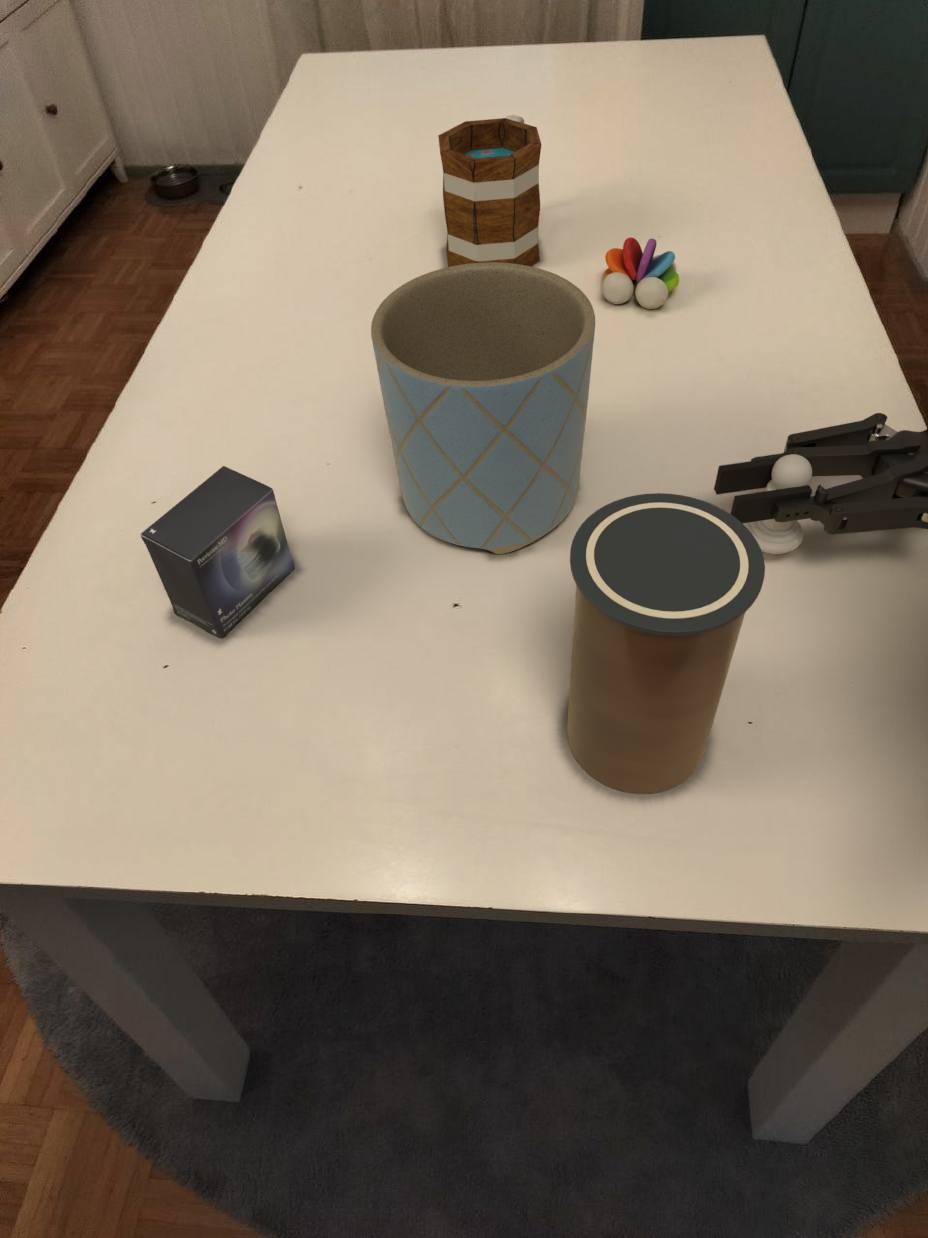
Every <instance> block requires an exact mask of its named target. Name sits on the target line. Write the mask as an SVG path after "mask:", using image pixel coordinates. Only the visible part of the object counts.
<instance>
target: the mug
mask: <svg viewBox="0 0 928 1238" xmlns="http://www.w3.org/2000/svg"><path fill="white" fill-rule="evenodd" d="M437 137H438V145H439V146H438V147H439V154H440V161H441V165H442V201H443V209H444V211H443V212H444V218H445V224H446V260H447V267H451V266H457V265H463V264H471V263H485V262H498V263H512V264H520V265H526V266H531V267H534V266H535V265H536V264H537V263H540V261H541V257H540V247H539V223H540V215H541V193H540V160H541V153H542V141H541V137H540V135H539V130H538V127H537V126H534V125H531V124H527V123H525V119H524V118H523V117H522V116H518V115H515V114H509V115H507V116H505V117H501V118H491V119H490V118H489V119H479V120H466V121H463V122H462V123H460V124H457V125H456V126H454V127H452V128H450V129H448V130H446V131H444V132H442V133H440V134H438V135H437Z"/></svg>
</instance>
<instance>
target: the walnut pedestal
mask: <svg viewBox="0 0 928 1238" xmlns="http://www.w3.org/2000/svg"><path fill="white" fill-rule="evenodd" d="M574 598H575V600H574V613H573V630H572V643H571V644H572V646H571V659H570V660H571V661H570V677H569V691H568V694H569V695H568V706H567V707H568V709H567V723H566V724H567V727H566V735H567V737H566V738H567V742H568V746H569V748H570V751H571V753H572V755H573V757H574V759H575V761H576V762H577V763H578V764H579V766H580V767H581V769H582V770H583V771H585V773H587V774H588V775H589V776H590V777H591V778H593V779H594V780H596V781H597V782H599V783H600V784H601V785H604V786H607V787H609V788H610V789H613V790H616V791H619V792H623V793H628V794H638V795H646V794H648V795H649V794H656V793H657V794H658V793H661V792H665V791H668V790H671V789H673V788H675V787H678V786H679V785H681V784H682V783H684V782H685V781H686V780H688V779H689V778H691V776H692V775H693V774H694V773H695V771H697V769H698V767H699V766H700V765H701V762H702V760H703V758H704V755H705V751H706V748H707V745H708V741H709V738H710V735H711V731H712V729H713V728H712V727H713V725H714V721H715V718H716V715H717V714H716V713H717V710H718V708H719V703H720V701H721V697H722V694H723V690H724V686H725V683H726V680H727V677H728V676H727V675H728V673H729V670H730V666H731V663H732V660H733V656H734V652H735V649H736V646H737V642H738V639H739V635H740V632H741V629H742V625H743V622H744V619H745V616H746V612H745V613H744V614H743V615H741V616H740V617H739V618H737V619H736V620H734V621H733V622H731V623H729V624H727V625H725V626H723V627H720V628H718V629H715V630H712V631H708V632H704V633H701V634H694V635H684V636H668V635H657V634H651V633H646V632H642V631H638V630H635V629H632V628H629V627H627V626H624V625H621V624H619V623H617V622H615V621H613V620H611V619H610V618H608V617H607V616H605V615H604V614H602V613H601V612H599V611H598V610H597V609H596V608H595V607H593V606H592V605H591V604H590V603H589V602H588V601H587V600H586V598H585V597H584V596H583V595H582V593H581V592H580V590H579V589H578V587H577V585H576V584H575V596H574Z"/></svg>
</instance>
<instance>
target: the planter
mask: <svg viewBox="0 0 928 1238" xmlns="http://www.w3.org/2000/svg"><path fill="white" fill-rule="evenodd" d="M370 326H371V327H370V337H371V342H372V347H373V352H374V358H375V363H376V369H377V370H376V371H377V375H378V380H379V385H380V392H381V397H382V402H383V407H384V411H385V412H384V413H385V417H386V421H387V426H388V431H389V436H390V441H391V446H392V451H393V456H394V461H395V466H396V467H395V468H396V471H397V472H396V473H397V477H398V482H399V487H400V492H401V496H402V500H403V503H404V505H405V509H406V511H407V512H408V514H409V516H410V517H411V518H412V520H413V521H414V522H415V523H416V524H417V525H418V526H419V527H420V528H421V529H422V530H423V531H425V532H426V533H428V534H430V535H431V536H433V537H435V538H437V539H439V540H441V541H444V542H447V543H448V544H449V543H450V544H452V545H457V546H461V547H466V548H472V549H480V550H486V551H489V552H491V553H494V554H496V555H505V554H508V553H512V552H514V551H517V550H520V549H521V548H524V547H526V546H528V545H529V544H533V543H534V542H535V541H537V540H539V539H541V538H542V537H543V536H545V535H547V534H548V533H550V532H551V531H552V530H554V529H555V528H556V527H557V526H559V525H560V524H561V523H562V522H563V520H565V518H566V517H567V516H568V514H569V513H570V512H571V510H572V509H573V506H574V504H575V502H576V498H577V497H578V496H577V495H578V491H579V485H580V477H581V469H582V458H583V448H584V441H585V439H584V438H585V430H586V421H587V411H588V403H589V395H590V383H591V373H592V363H593V353H594V344H595V343H594V342H595V333H596V332H595V331H596V314H595V310H594V307H593V304H592V303H591V301H590V299H589V298H588V296H587V295H586V294H585V293H584V292H583V291H582V290H581V289H580V288H579V287H578V286H576V285H575V284H574V283H573V282H571V281H569V280H568V279H566V278H564V277H562V276H560V275H559V274H556V273H553V272H552V271H548V270H545V269H542V268H540V267H535V266H532V267H531V266H526V265H520V264H512V263H498V262H485V263H471V264H463V265H457V266H451V267H448V266H447V267H443V268H440V269H436V270H433V271H430V272H427V273H424V274H422V275H419V276H417V277H415V278H413V279H411V280H409V281H406V282H405V283H403V284H402V285H400V286H399V287H397V288H395V290H393V291H392V292H391V293H390V294H388V295H387V296H386V297H385V298H384V299H383V300H382V301H381V303H380V304H379V306H378V307H377V309H376V310H375V313H374V315H373V317H372V321H371V325H370Z"/></svg>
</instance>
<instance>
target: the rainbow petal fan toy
mask: <svg viewBox="0 0 928 1238" xmlns="http://www.w3.org/2000/svg"><path fill="white" fill-rule="evenodd" d="M623 241H624V242H623V245H622V248H619V247H614V248H610V249H609V250H608V251H607V252H606V254H605V256H604V257H605V259H604V260H605V263H606V265H607V267H608V268H606V269H605V270H604V271H603V273H602V275H601V277H602V278H601V279H602V280H601V281H602V285H601V290H602V295H603V297H604V298H605V299H606V301H608V302H609V303H611V304H615V305H621V304H624V303H626V302H628V301H629V300H630V299H631V298H632V297H633V294H634V295H635V298H636V301H637V302H638V304H639V305H640V306H641V307H643V308H644V309H647V310H648V309H649V310H652V309H653V310H654V309H658V308H660V307H661V306H662V305H664V304H665V303H666V301H667V300H668V296H669V293H671V292H672V291H674V290H675V289H676V288H678V286H679V284H680V276H679V273H677V271H678V270H677V265H676V263H675V261H676V254H675V252H673V251H671V250H667V251H665V252H662V253H661V254H658V255H655V252H656V248H657V244H658V243H657V240H656V239H655V238H649V239H648V240H647V242H646V245H645V246H644V250H642V247H641V244H640V242H639V241H638V240H637V239H636V238H635V237H632V236H631V237H627V238H626V239H625V240H623ZM636 283H637V284H636ZM635 285H636V287H635Z"/></svg>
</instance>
